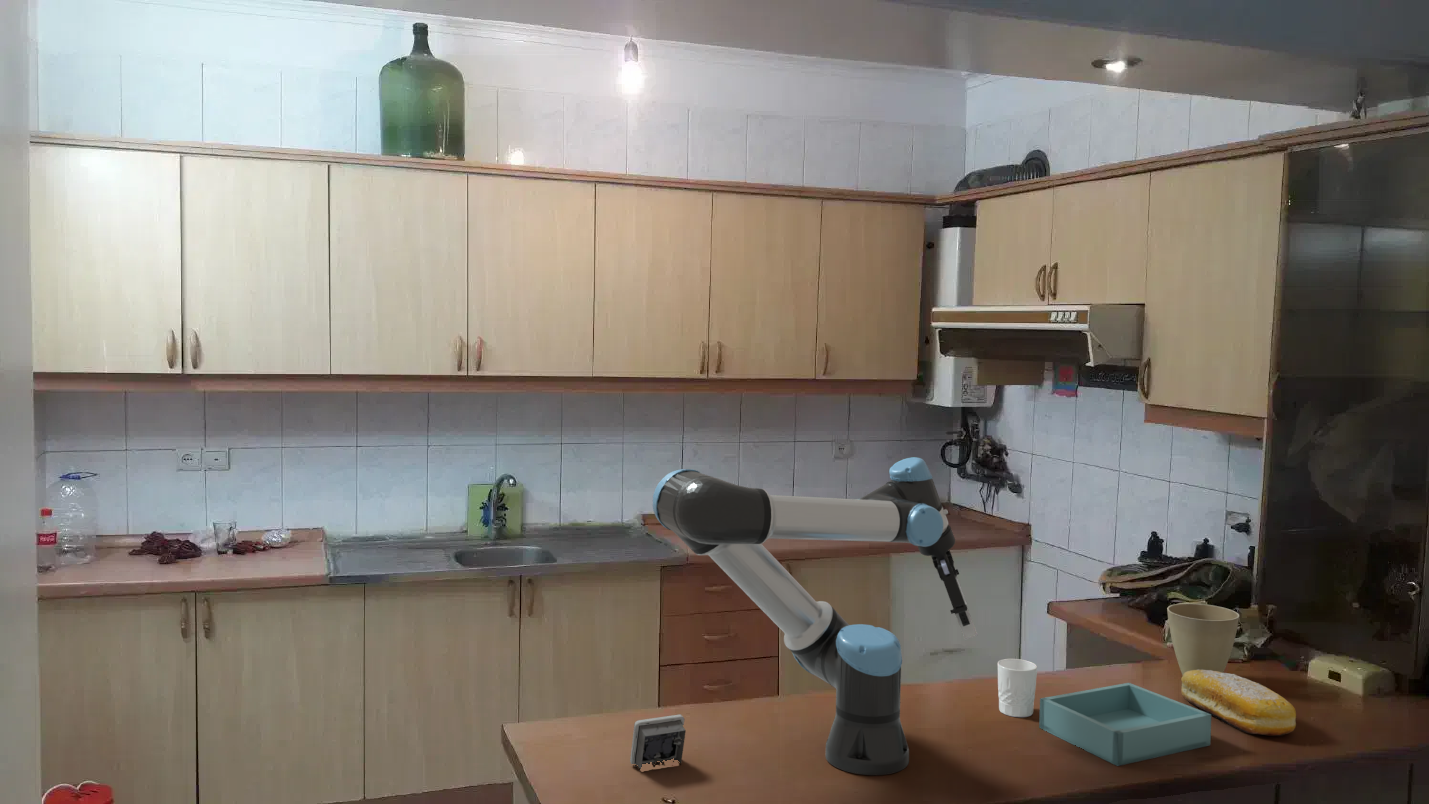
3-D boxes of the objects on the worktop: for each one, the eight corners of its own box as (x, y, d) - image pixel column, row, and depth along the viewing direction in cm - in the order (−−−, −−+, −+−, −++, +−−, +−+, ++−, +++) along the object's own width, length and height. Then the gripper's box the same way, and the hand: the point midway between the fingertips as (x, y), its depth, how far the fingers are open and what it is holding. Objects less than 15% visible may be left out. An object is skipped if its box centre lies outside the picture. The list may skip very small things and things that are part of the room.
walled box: (1117, 766, 186) (1118, 733, 185) (1039, 728, 204) (1040, 698, 203) (1210, 745, 196) (1211, 714, 196) (1127, 710, 214) (1128, 682, 214)
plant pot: (1183, 665, 245) (1186, 599, 244) (1248, 681, 233) (1251, 612, 232) (1152, 678, 235) (1154, 609, 234) (1218, 695, 224) (1221, 623, 223)
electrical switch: (677, 757, 188) (679, 709, 186) (688, 771, 183) (690, 722, 182) (629, 765, 184) (630, 716, 183) (638, 779, 179) (640, 729, 178)
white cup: (1043, 715, 211) (1045, 668, 210) (1012, 720, 208) (1013, 672, 207) (1019, 703, 218) (1020, 657, 217) (988, 707, 215) (989, 660, 214)
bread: (1253, 744, 197) (1255, 703, 197) (1164, 697, 223) (1165, 661, 223) (1312, 738, 200) (1314, 698, 200) (1217, 693, 226) (1219, 657, 226)
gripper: (958, 549, 194) (994, 644, 198) (941, 502, 218) (974, 588, 222) (920, 562, 195) (956, 656, 200) (908, 513, 219) (940, 598, 224)
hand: (966, 620), depth 211 cm, fingers open, 13 cm apart
